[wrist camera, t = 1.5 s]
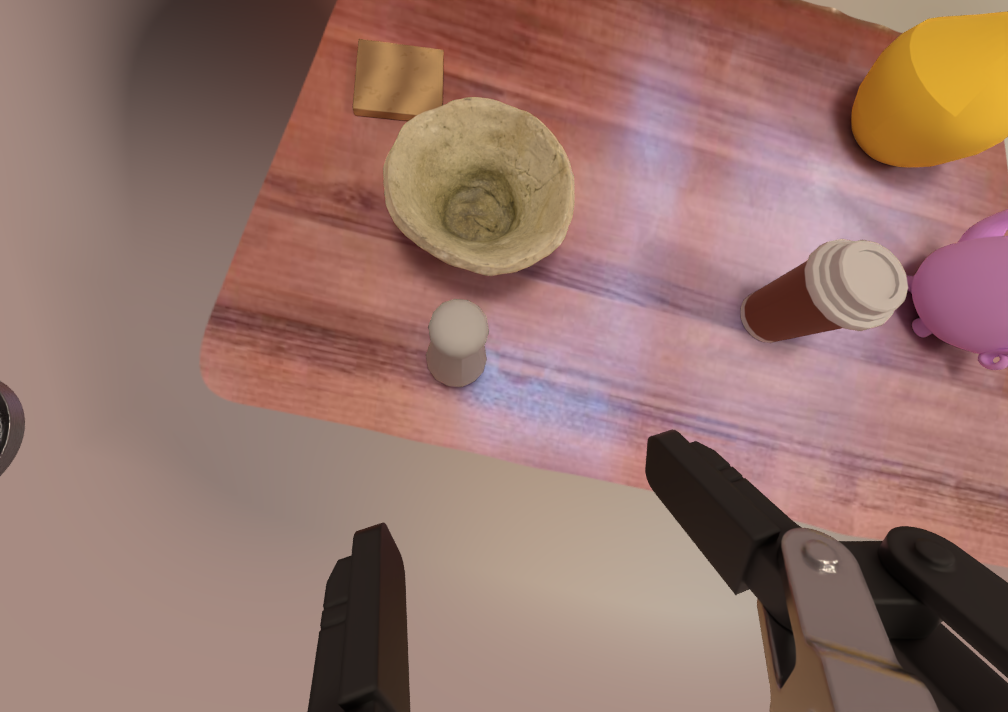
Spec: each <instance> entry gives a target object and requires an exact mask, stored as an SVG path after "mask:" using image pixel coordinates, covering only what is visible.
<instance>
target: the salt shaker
mask: <svg viewBox="0 0 1008 712" xmlns="http://www.w3.org/2000/svg"><path fill="white" fill-rule="evenodd" d="M428 328H429V334H430V340H431V342H430V344H429V347H428V350H427V353H426V360H427V366H428V369H429V371H430V372H431V374H432V375H433V377H434V378H435V380H437V381H439V382H441V383H443V384H445V385H447V386H455V387H463V386H465V385H467V384H470V383H472V382H474V381H475V380H476V379H477V378H478V377H479V376H480V375H481V374H482V373H483V371H484V367H485V364H486V360H487V358H486V352H485V346H484V345H485V343H486V340H487V336H488V333H489V329H488V323H487V318H486V316H485V314H484V313H483V311H482V310H481V309H480V307H479V306H477V305H475V304H474V303H472V302H470V301H468V300H462V299H453V300H450V301H447V302H444V303H442V304H441V305H440V306H439V307H438V308H437V309H436V310H435V311H434V312H433V315H432V317H431V320H430V323H429V326H428Z"/></svg>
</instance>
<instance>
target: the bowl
mask: <svg viewBox="0 0 1008 712" xmlns="http://www.w3.org/2000/svg"><path fill="white" fill-rule="evenodd" d="M383 177H384V180H383V183H384V188H385V190H384V195H385V202H386V206H387V209H388V211H389V213H390V216H391V217H392V218H393V221H394V223H395V225H396V226H397V227H398V229H400V230H401V231H402V232H403V234H404V235H405V236H406V237H407V238H409V239H411V240H412V241H413V242H414V243H416V245H417V246H419V247H420V248H422V249H423V250H425V251H427V252H429V253H430V254H431V255H433V256H434V257H436V258H438V259H440V260H441V261H443V262H445V263H447V264H449V265H451V266H453V267H457V268H461V269H466V270H469V271H472V272H475V273H477V274H481V275H485V276H496V275H499V274H506V273H507V274H508V273H514V272H517V271H519V270H522V269H525V268H528V267H530V266H532V265H533V264H535V263H536V262H538V261H539V260H542V259H543V258H544V257H547V256H549V255H550V254H551V253H552V252H553V251H554V250H555V249H556V248H557V247H558V246H560V244H561V243H562V242H563V240H564V238H565V236H566V233H567V230H568V226H569V224H570V222H571V220H572V216H573V210H574V175H573V173H572V170H571V165H570V161H569V159H568V157H567V155H566V153H565V151H564V149H563V147H562V146H561V144H560V143H559V142H558V140H557V139H556V137H555V136H554V134H553V133H552V132H551V131H550V130H549V129H548V128H547V127H546V126H545V125H544V124H543V123H542V122H541V121H540V120H539V119H537V118H536V117H534V116H533V115H532V114H530V113H528V112H526V111H523V110H519V109H517V108H514V107H512V106H510V105H507V104H504V103H502V102H499V101H496V100H492V99H486V98H477V97H469V98H464V99H460V100H453V101H451V102H449V103H447V104H446V105H443V106H440V107H438V108H435V109H432V110H429V111H425V112H423V113H421V114H419V115H417V116H415V117H414V118H413V119H411V120H409V121H408V122H407V123H406V124H405V125H404V126H403V127H402V128H401V130H400V132H399V134H398V137H397V139H396V141H395V143H394V145H393V147H392V148H391V150H390V152H389V154H388V155H387V158H386V161H385V164H384V167H383Z"/></svg>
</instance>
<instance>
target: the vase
mask: <svg viewBox="0 0 1008 712" xmlns="http://www.w3.org/2000/svg"><path fill="white" fill-rule="evenodd" d="M851 125H852V132H853V135H854V138H855V139H856V141H857V143H858V144H859V146H860V147H861V148H862V149H863V150H864V152H865V153H867V154H868V155H869V156H870V157H872V158H873V159H875V160H877V161H879V162H881V163H884V164H888V165H892V166H897V167H931V166H935V165H939V164H943V163H947V162H950V161H954V160H958V159H962V158H966V157H969V156H973V155H976V154H979V153H981V152H983V151H985V150H986V149H988V148H990V147H992V146H994V145H996V144H998V143H1000V142H1002V141H1003V140H1004V139H1005V138H1007V137H1008V11H1007V12H998V13H988V14H979V15H963V16H948V17H937V18H931V19H927V20H925V21H924V22H922V23H920V24H918V25H916V26H915V27H913V28H911V29H910V30H908V31H906V32H904V33H902V34H901V35H900V36H899V37H898V38H897V39H896V40H895V41H893V42H892V43H891V44H890V45H889V46H888V47H887V48H886V49H885V50H884V51H883V52H882V53H881V55H880V56H879V57H878V59H877V60H876V62H875V63H874V65H873V66H872V68H871V69H870V71H869V72H868V74H867V75H866V77H865V78H864V80H863V82H862V83H861V85H860V86H859V89H858V92H857V95H856V98H855V101H854V104H853V108H852V116H851Z"/></svg>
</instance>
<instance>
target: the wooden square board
mask: <svg viewBox="0 0 1008 712" xmlns="http://www.w3.org/2000/svg"><path fill="white" fill-rule="evenodd" d="M443 67H444V51H443V50H439V49H431V48H424V47H416V46H409V45H401V44H394V43H386V42H379V41H371V40H364V39H359V41H358V53H357V64H356V75H355V87H354V98H353V111H354V114H355V115H357V116H367V117H376V118H386V119H396V120H405V121H409V120H411V119H413V118H414V117H415V116H417V115H419V114H421V113H423V112H425V111H429V110H432V109H435V108H438V107H440V106H443Z"/></svg>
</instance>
